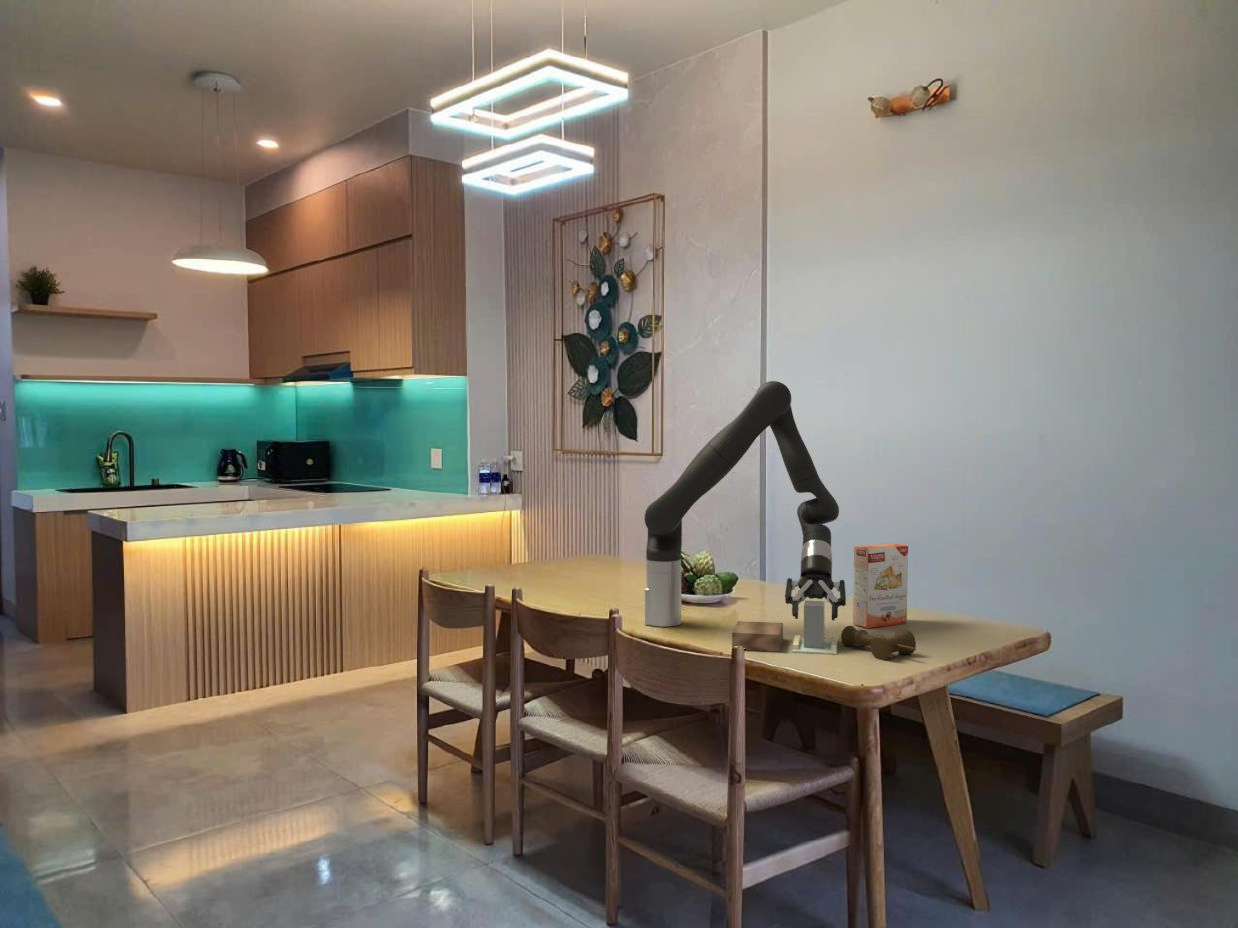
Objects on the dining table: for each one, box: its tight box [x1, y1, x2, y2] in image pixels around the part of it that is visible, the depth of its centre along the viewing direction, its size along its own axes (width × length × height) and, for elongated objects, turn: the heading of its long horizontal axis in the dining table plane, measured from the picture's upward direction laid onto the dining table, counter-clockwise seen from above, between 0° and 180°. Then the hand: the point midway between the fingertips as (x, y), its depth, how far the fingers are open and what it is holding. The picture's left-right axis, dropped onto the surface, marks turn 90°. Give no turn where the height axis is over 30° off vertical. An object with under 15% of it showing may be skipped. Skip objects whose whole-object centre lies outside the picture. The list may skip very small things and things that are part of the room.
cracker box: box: [852, 542, 909, 629], centre depth 245 cm, size 14×6×21 cm, turn 117°
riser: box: [731, 620, 784, 652], centre depth 224 cm, size 11×13×4 cm
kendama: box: [840, 625, 917, 661], centre depth 215 cm, size 6×10×20 cm
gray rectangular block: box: [803, 600, 826, 649], centre depth 221 cm, size 4×6×10 cm
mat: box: [792, 634, 838, 655], centre depth 221 cm, size 10×13×1 cm
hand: (814, 617), depth 221 cm, fingers open, 8 cm apart
